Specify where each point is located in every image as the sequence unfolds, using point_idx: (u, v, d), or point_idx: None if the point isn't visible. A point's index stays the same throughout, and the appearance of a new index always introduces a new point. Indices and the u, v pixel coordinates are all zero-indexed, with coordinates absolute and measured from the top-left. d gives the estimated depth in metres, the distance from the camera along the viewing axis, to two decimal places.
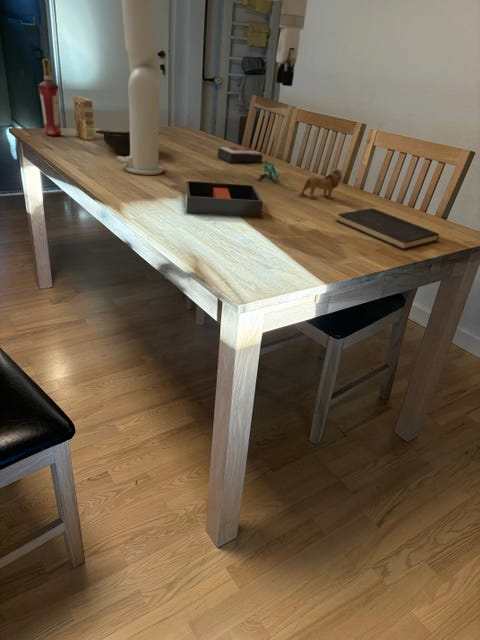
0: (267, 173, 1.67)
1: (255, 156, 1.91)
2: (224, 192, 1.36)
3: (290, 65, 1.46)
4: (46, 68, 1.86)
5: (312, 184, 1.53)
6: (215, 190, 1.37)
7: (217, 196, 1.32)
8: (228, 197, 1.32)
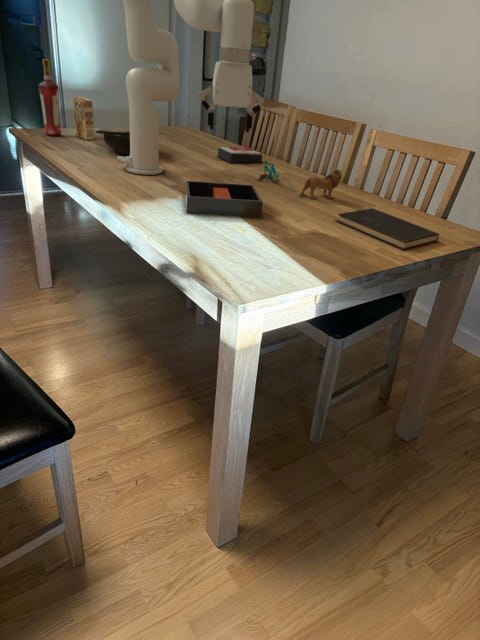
0: (267, 173, 1.67)
1: (255, 156, 1.91)
2: (224, 192, 1.36)
3: (202, 103, 1.23)
4: (46, 68, 1.86)
5: (312, 184, 1.53)
6: (215, 190, 1.37)
7: (217, 196, 1.32)
8: (228, 197, 1.32)
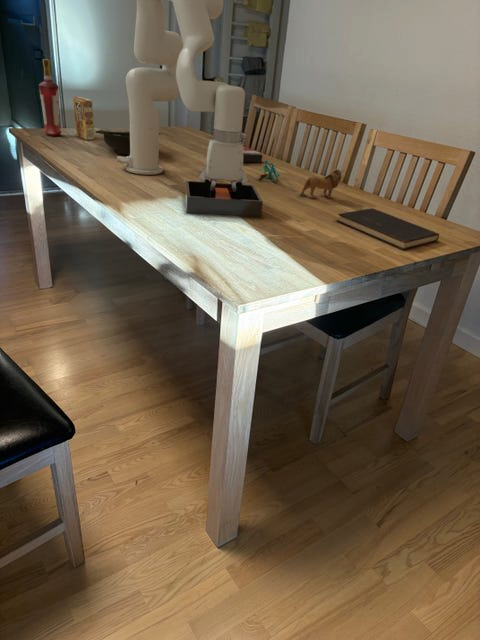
0: (267, 173, 1.67)
1: (255, 156, 1.91)
2: (224, 192, 1.36)
3: (205, 181, 1.33)
4: (46, 68, 1.86)
5: (312, 184, 1.53)
6: None
7: (217, 196, 1.32)
8: (228, 197, 1.32)
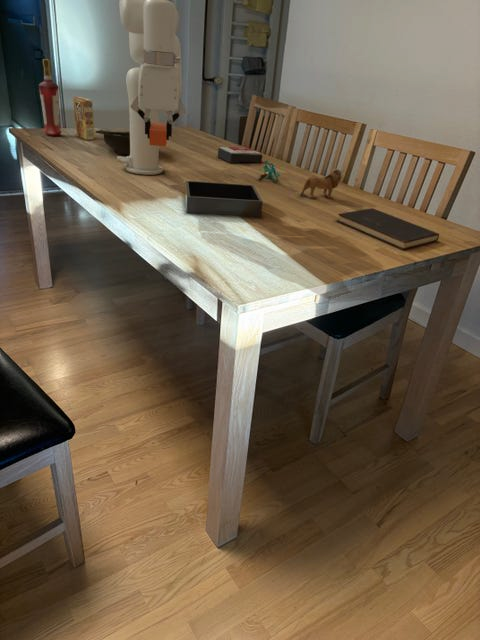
0: (267, 173, 1.67)
1: (255, 156, 1.91)
2: (161, 126, 1.25)
3: (138, 112, 1.22)
4: (46, 68, 1.86)
5: (312, 184, 1.53)
6: (152, 124, 1.26)
7: (151, 128, 1.21)
8: (163, 129, 1.21)
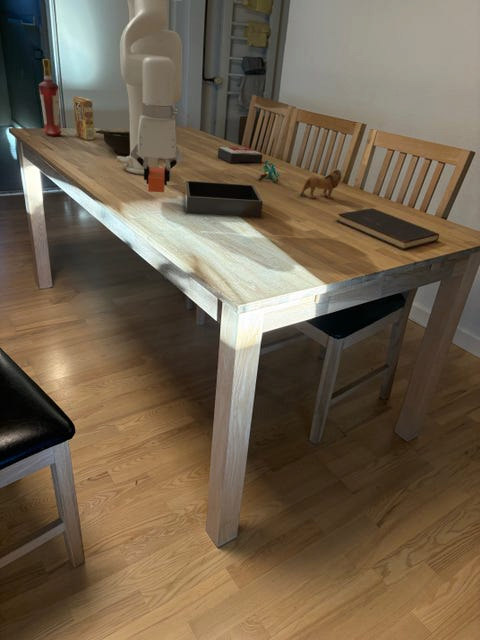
0: (267, 173, 1.67)
1: (255, 156, 1.91)
2: (159, 171, 1.31)
3: None
4: (46, 68, 1.86)
5: (312, 184, 1.53)
6: (150, 169, 1.32)
7: (150, 175, 1.27)
8: (161, 176, 1.27)
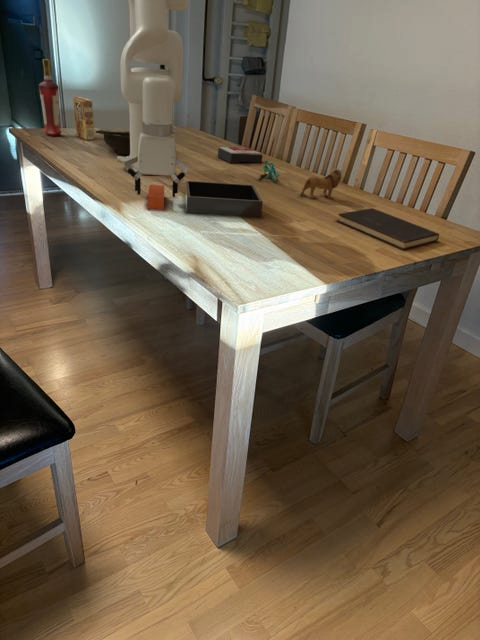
0: (267, 173, 1.67)
1: (255, 156, 1.91)
2: (158, 189, 1.33)
3: None
4: (46, 68, 1.86)
5: (312, 184, 1.53)
6: (150, 187, 1.34)
7: (150, 193, 1.29)
8: (161, 194, 1.29)
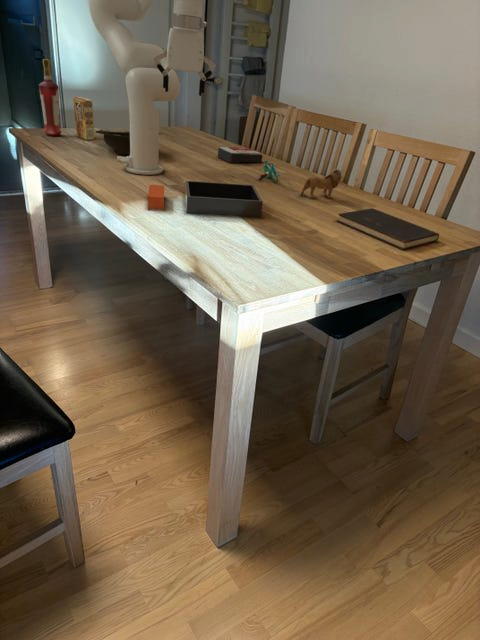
0: (267, 173, 1.67)
1: (255, 156, 1.91)
2: (158, 189, 1.33)
3: None
4: (46, 68, 1.86)
5: (312, 184, 1.53)
6: (150, 187, 1.34)
7: (150, 193, 1.29)
8: (161, 194, 1.29)
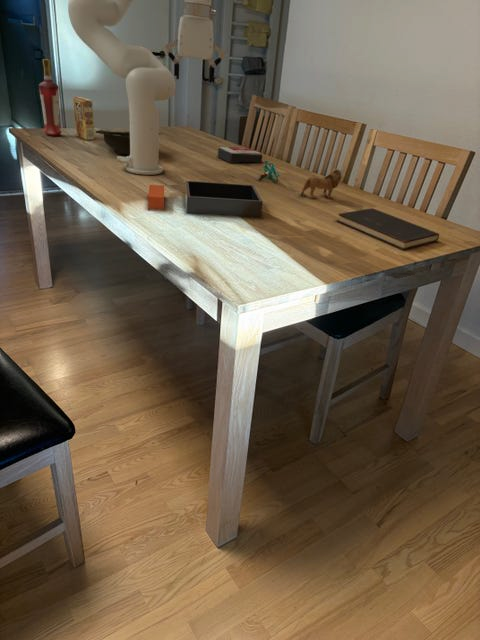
0: (267, 173, 1.67)
1: (255, 156, 1.91)
2: (158, 189, 1.33)
3: (168, 55, 1.37)
4: (46, 68, 1.86)
5: (312, 184, 1.53)
6: (150, 187, 1.34)
7: (150, 193, 1.29)
8: (161, 194, 1.29)
